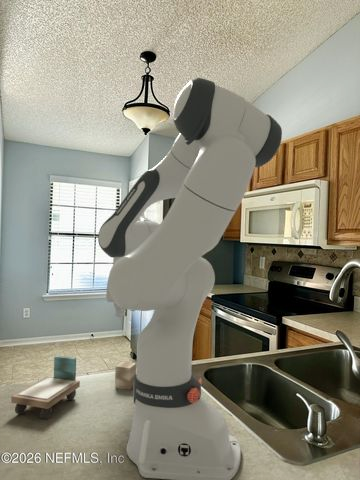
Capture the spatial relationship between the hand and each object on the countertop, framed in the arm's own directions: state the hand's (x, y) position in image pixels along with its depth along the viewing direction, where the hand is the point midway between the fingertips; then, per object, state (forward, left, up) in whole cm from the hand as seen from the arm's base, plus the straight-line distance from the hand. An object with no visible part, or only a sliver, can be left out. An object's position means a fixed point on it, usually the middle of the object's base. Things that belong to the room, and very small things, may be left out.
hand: (126, 313), depth 98 cm
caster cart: (+13, +18, -21) cm, 30 cm away
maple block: (0, 0, -21) cm, 21 cm away
